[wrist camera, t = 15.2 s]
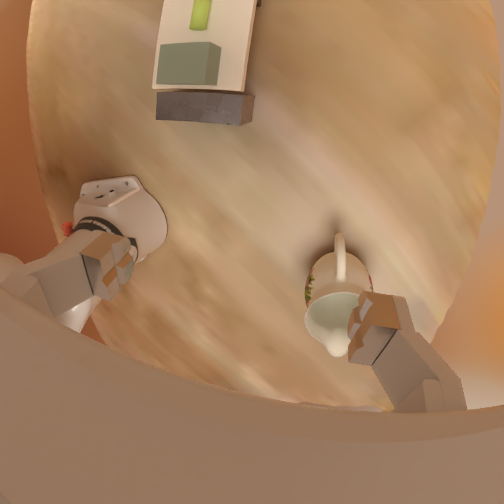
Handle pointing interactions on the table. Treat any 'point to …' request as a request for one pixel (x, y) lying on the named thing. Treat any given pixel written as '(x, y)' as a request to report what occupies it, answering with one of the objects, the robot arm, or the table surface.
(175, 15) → the plate
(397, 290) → the table surface
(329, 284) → the pitcher
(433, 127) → the table surface
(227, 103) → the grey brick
